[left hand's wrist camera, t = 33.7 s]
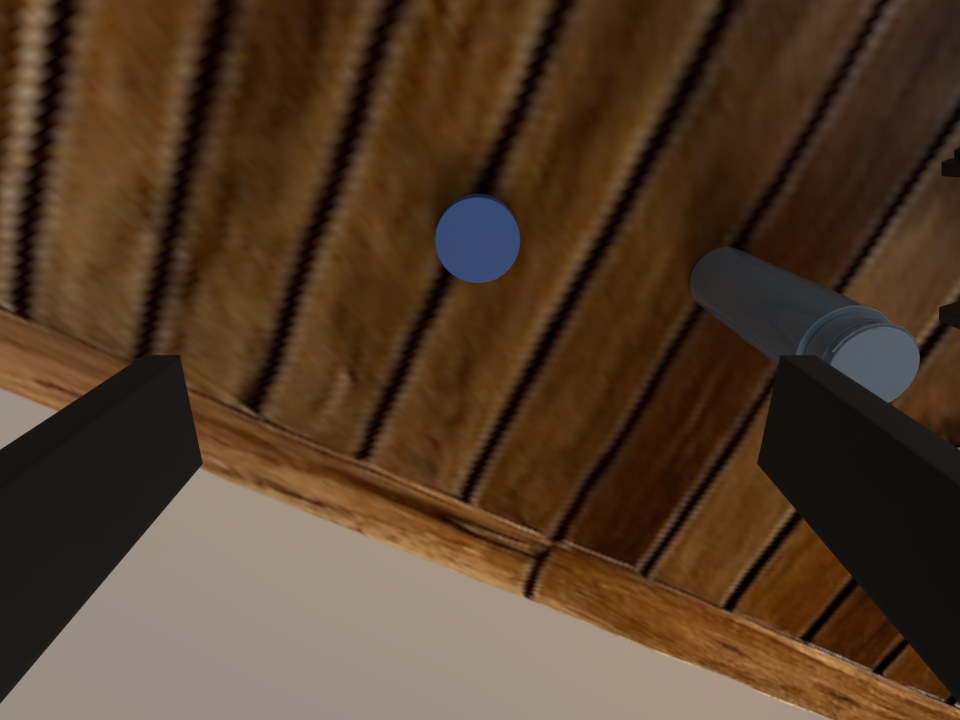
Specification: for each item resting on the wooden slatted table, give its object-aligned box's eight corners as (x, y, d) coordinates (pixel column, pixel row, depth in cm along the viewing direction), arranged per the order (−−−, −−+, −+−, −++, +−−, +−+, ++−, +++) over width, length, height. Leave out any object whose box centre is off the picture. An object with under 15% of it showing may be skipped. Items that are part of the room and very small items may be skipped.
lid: (523, 198, 36) (525, 202, 34) (512, 279, 38) (513, 287, 36) (441, 189, 36) (439, 192, 34) (434, 270, 38) (431, 277, 36)
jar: (768, 268, 38) (952, 352, 23) (726, 321, 39) (873, 433, 25) (717, 234, 37) (874, 299, 22) (676, 290, 38) (797, 386, 24)
